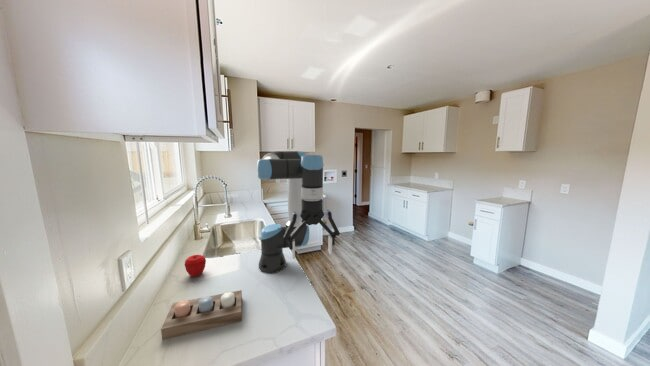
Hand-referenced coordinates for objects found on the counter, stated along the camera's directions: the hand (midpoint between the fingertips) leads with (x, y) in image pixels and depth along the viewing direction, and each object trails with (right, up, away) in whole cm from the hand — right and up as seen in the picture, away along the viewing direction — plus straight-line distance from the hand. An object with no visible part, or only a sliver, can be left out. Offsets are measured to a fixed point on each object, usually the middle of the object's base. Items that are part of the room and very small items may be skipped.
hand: (312, 255), depth 82 cm
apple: (-63, -22, +36) cm, 76 cm away
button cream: (-35, -24, +9) cm, 43 cm away
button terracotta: (-50, -25, +4) cm, 56 cm away
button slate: (-42, -24, +6) cm, 49 cm away
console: (-42, -26, +7) cm, 50 cm away
